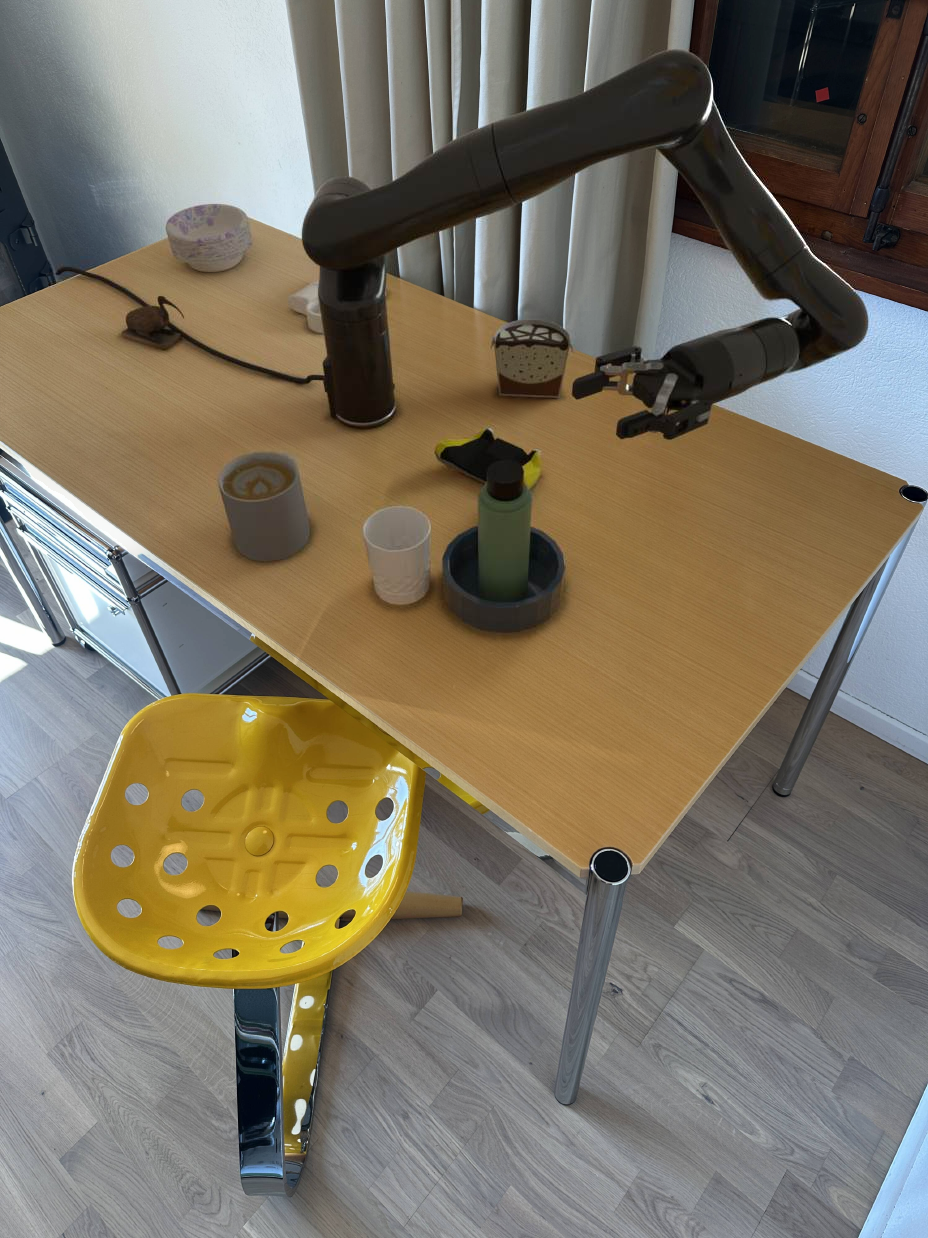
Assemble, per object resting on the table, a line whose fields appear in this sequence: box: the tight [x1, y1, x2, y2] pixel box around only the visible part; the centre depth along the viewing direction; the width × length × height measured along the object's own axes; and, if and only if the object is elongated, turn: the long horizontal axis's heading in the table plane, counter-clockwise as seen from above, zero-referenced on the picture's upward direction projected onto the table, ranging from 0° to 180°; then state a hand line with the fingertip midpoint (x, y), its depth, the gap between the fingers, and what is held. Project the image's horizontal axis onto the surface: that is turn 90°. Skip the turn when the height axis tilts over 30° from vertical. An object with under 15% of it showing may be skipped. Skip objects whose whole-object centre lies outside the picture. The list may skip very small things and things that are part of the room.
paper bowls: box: [165, 203, 253, 273], centre depth 165 cm, size 15×15×8 cm
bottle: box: [477, 460, 533, 603], centre depth 101 cm, size 6×6×18 cm
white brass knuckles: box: [287, 278, 324, 334], centre depth 154 cm, size 3×18×15 cm
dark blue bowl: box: [441, 525, 566, 634], centre depth 106 cm, size 15×15×5 cm
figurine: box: [120, 295, 185, 351], centre depth 146 cm, size 14×4×9 cm, turn 61°
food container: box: [489, 318, 574, 399], centre depth 134 cm, size 12×6×10 cm, turn 84°
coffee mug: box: [217, 450, 311, 562], centre depth 112 cm, size 13×10×10 cm
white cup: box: [362, 505, 432, 606], centre depth 105 cm, size 8×8×10 cm
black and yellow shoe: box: [434, 427, 542, 493], centre depth 120 cm, size 15×6×10 cm
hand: (595, 409), depth 94 cm, fingers open, 8 cm apart
